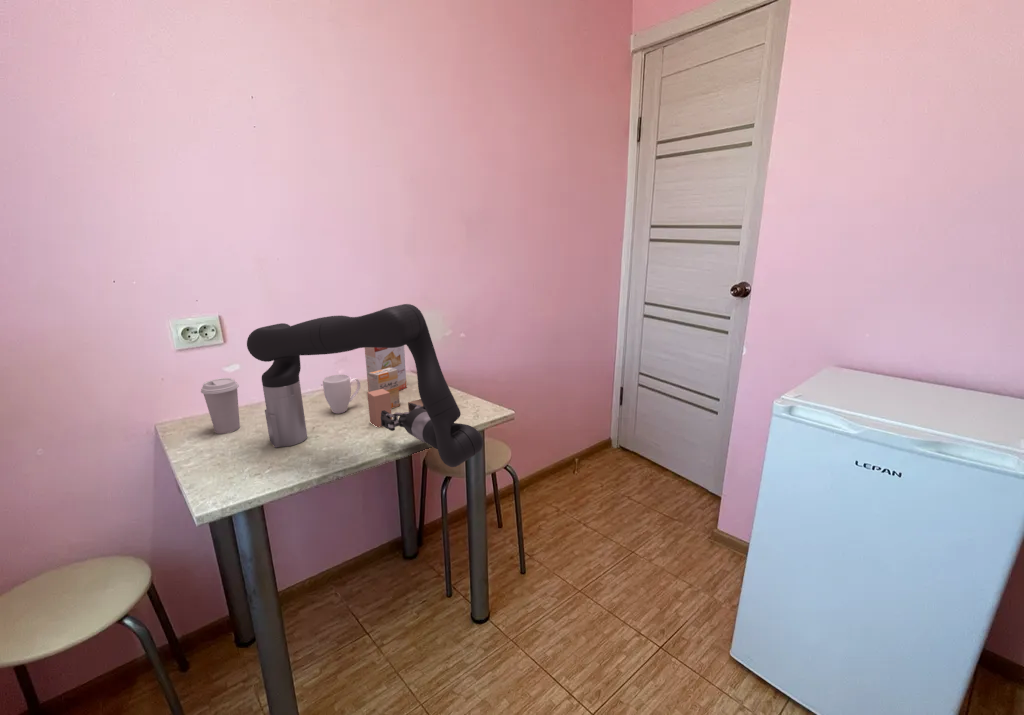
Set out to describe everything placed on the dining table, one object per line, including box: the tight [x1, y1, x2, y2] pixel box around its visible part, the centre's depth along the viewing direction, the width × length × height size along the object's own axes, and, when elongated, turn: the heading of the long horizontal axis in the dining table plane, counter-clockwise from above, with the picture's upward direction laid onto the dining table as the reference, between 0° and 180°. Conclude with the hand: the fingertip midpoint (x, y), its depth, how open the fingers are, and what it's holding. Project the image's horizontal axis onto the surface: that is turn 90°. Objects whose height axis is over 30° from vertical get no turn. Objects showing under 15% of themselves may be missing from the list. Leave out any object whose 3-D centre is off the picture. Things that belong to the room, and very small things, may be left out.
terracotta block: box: [366, 389, 393, 428], centre depth 142 cm, size 5×5×10 cm
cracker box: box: [364, 345, 408, 392], centre depth 169 cm, size 14×6×21 cm, turn 147°
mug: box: [322, 374, 361, 414], centre depth 153 cm, size 12×8×11 cm
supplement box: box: [369, 368, 401, 409], centre depth 154 cm, size 8×5×13 cm, turn 143°
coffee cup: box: [200, 377, 241, 435], centre depth 138 cm, size 10×10×15 cm
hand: (396, 409), depth 133 cm, fingers open, 8 cm apart
